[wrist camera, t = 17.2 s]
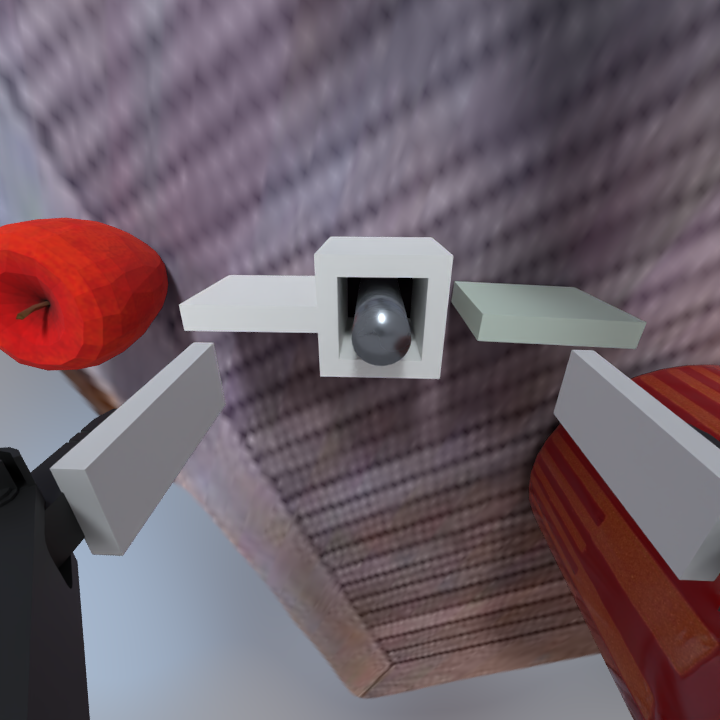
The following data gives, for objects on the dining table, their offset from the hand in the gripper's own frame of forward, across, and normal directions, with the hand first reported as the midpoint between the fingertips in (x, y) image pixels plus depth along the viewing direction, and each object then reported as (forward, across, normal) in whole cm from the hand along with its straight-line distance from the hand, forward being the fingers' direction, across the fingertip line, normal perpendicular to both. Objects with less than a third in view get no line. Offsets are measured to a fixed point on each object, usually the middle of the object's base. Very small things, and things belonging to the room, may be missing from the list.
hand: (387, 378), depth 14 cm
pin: (+16, 0, -1) cm, 16 cm away
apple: (+16, -19, 0) cm, 25 cm away
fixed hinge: (+16, -4, -1) cm, 16 cm away
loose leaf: (+15, +10, -1) cm, 18 cm away
